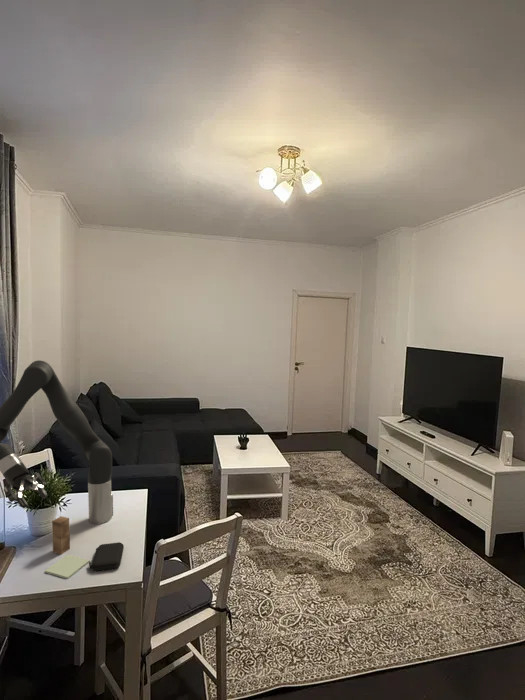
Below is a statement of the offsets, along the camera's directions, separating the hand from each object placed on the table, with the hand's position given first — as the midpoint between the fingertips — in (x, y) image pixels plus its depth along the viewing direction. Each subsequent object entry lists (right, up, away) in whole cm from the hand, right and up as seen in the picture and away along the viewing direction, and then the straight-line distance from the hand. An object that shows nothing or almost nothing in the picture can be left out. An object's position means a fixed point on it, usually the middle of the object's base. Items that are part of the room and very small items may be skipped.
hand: (36, 502), depth 152 cm
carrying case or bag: (+30, -18, -8) cm, 36 cm away
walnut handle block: (+11, -17, -2) cm, 21 cm away
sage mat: (+18, -18, -12) cm, 28 cm away
